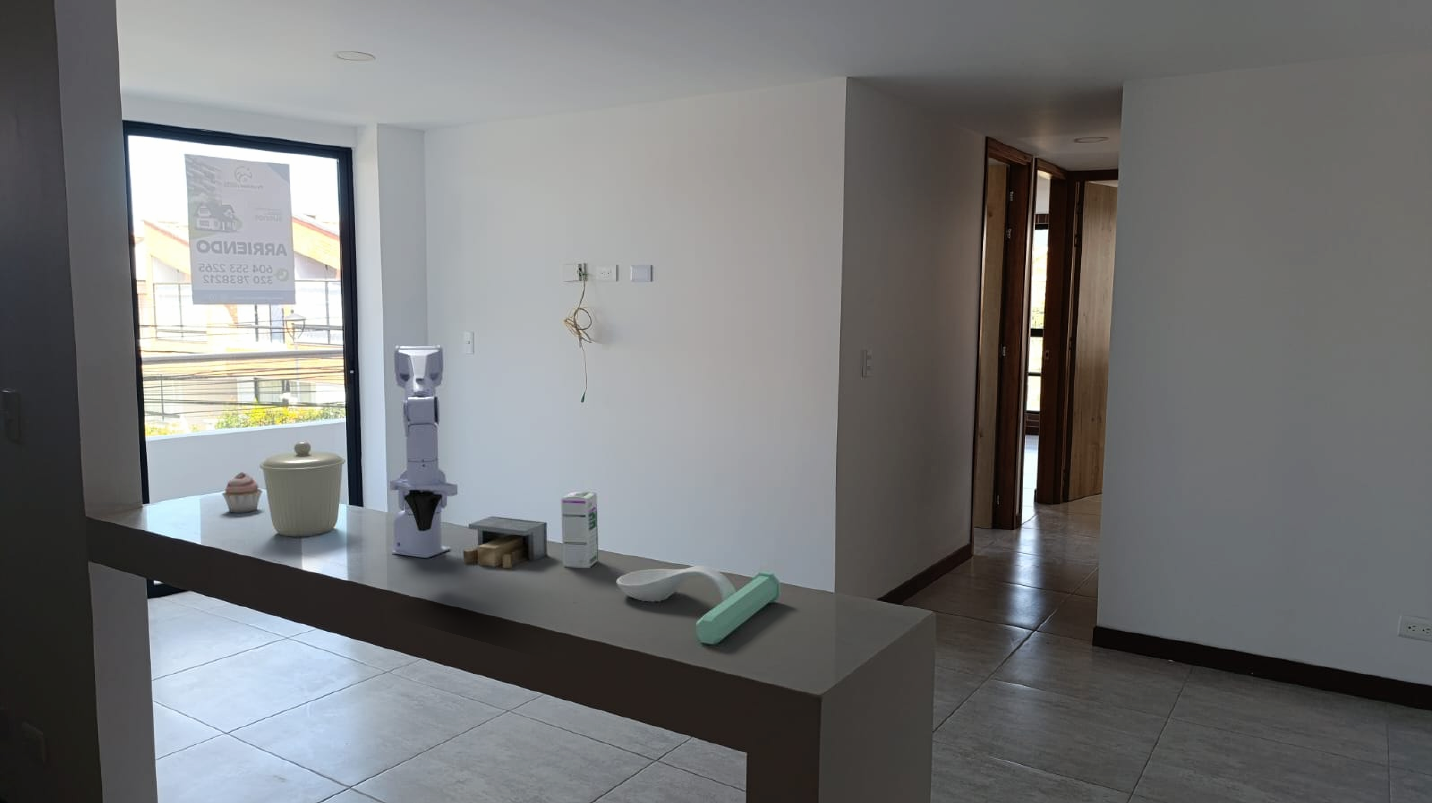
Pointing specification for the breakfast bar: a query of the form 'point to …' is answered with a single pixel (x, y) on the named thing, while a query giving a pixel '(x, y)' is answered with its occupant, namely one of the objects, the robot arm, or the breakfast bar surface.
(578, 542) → the syrup box
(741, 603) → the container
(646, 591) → the spoon rest
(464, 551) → the awning
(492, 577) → the breakfast bar surface
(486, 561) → the oak bar
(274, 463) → the canister
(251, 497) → the cupcake
